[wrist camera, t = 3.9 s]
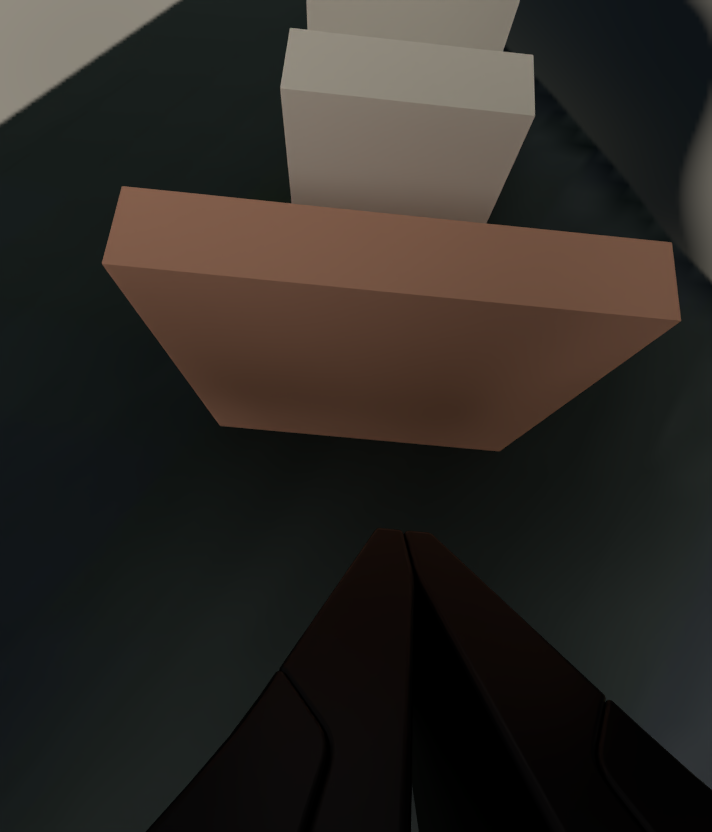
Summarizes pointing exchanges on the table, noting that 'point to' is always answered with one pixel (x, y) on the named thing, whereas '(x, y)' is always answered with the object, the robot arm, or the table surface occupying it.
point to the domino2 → (402, 124)
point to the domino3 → (418, 20)
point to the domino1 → (383, 314)
